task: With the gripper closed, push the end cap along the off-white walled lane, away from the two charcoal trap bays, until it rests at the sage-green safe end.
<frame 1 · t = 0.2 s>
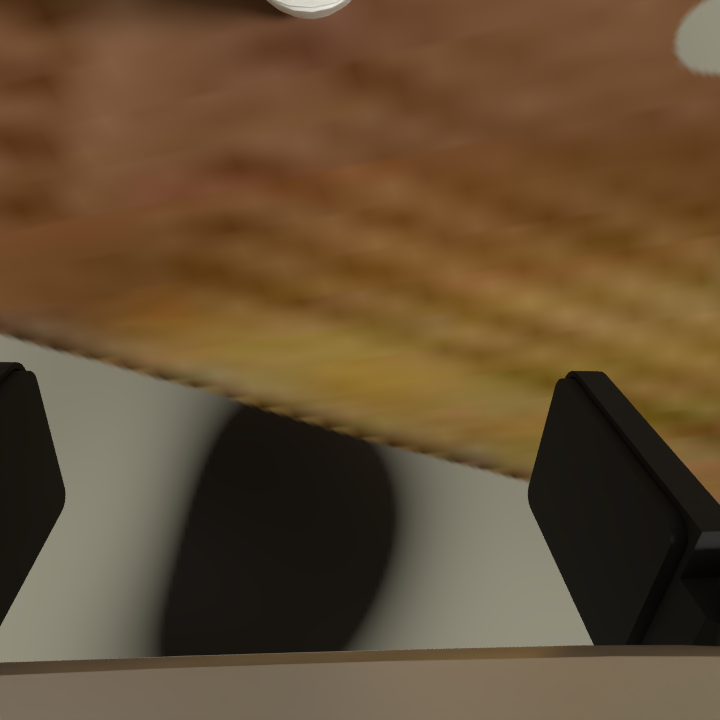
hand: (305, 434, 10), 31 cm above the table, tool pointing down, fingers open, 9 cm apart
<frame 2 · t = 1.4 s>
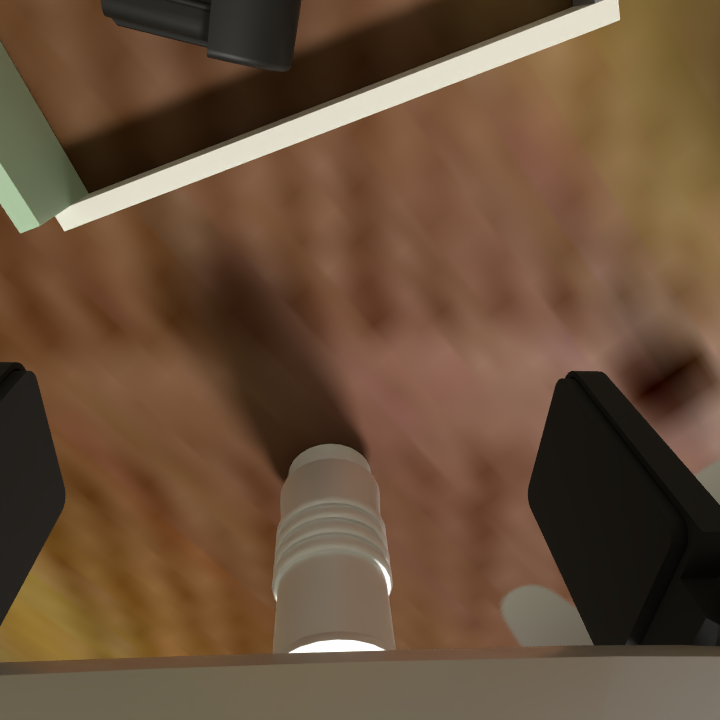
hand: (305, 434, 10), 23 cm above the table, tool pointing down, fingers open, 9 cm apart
candle: (330, 475, 41), on the table
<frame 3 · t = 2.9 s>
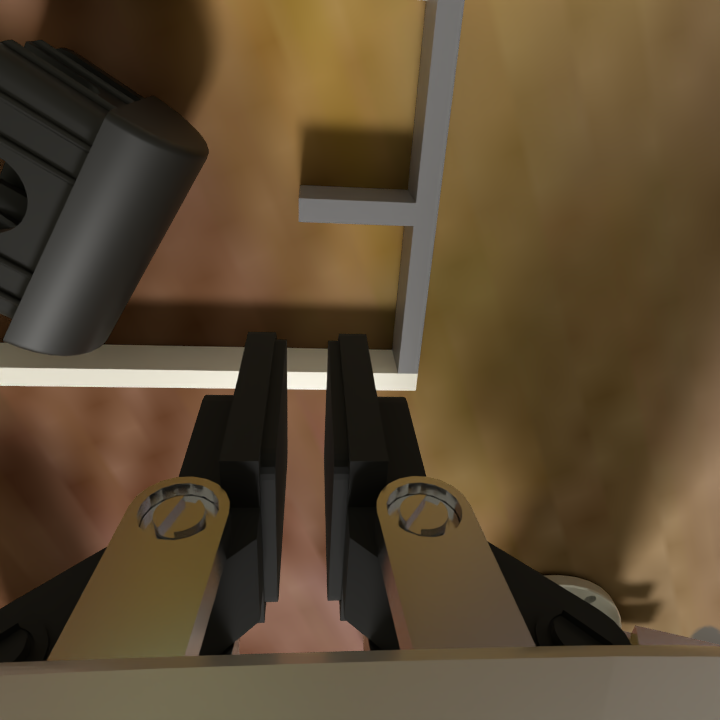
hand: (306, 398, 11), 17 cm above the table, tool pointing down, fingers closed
finger lane: (121, 188, 26), on the table
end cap: (101, 185, 26), on the table
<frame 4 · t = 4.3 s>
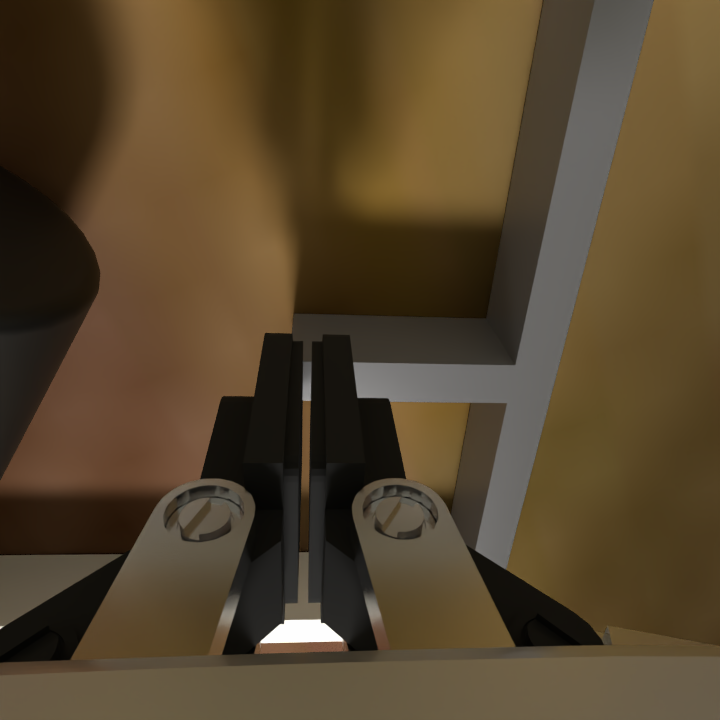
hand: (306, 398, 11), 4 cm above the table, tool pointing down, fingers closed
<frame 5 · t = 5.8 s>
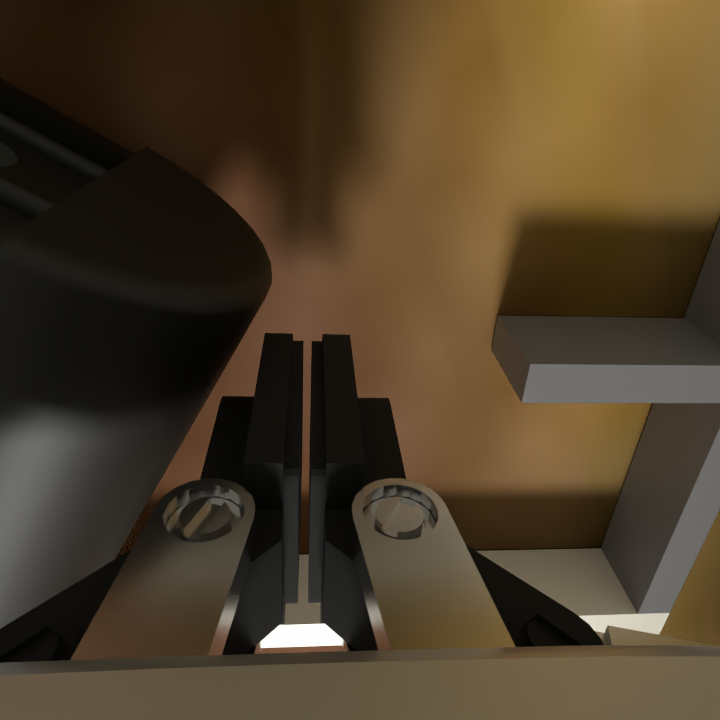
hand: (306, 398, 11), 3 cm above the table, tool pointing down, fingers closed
finger lane: (178, 328, 14), on the table
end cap: (61, 313, 14), on the table, touching gripper
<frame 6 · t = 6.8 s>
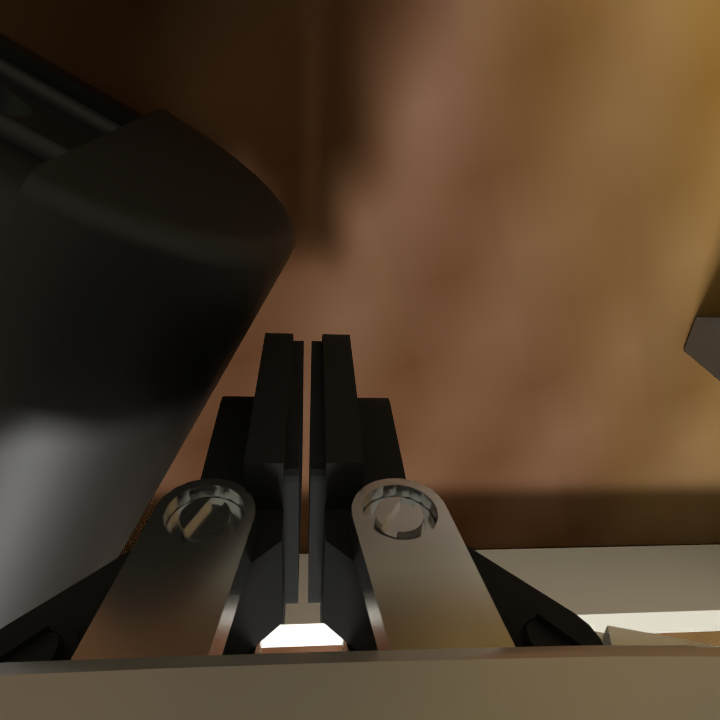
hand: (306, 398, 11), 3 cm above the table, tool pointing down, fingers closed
finger lane: (391, 330, 14), on the table
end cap: (71, 287, 13), on the table, touching finger lane, gripper
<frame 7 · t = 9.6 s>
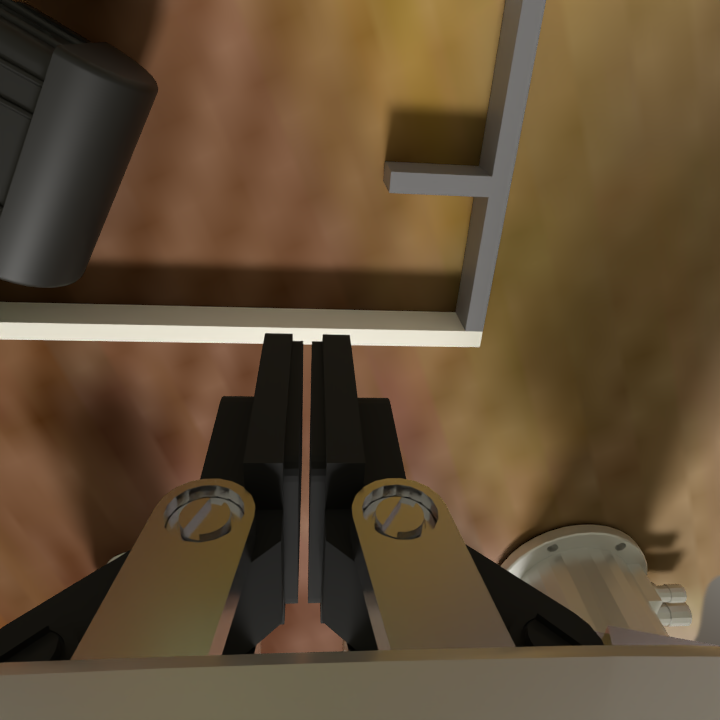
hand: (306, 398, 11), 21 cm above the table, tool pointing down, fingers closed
finger lane: (228, 163, 29), on the table
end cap: (68, 134, 28), on the table
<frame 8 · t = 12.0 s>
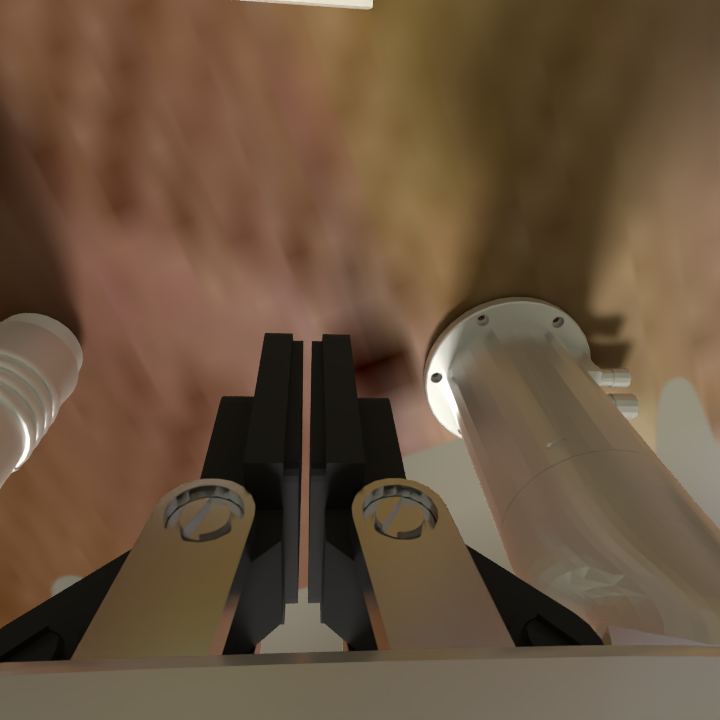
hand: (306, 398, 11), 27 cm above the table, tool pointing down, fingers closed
candle: (40, 349, 40), on the table
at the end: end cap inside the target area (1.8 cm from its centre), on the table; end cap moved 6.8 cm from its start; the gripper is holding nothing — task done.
